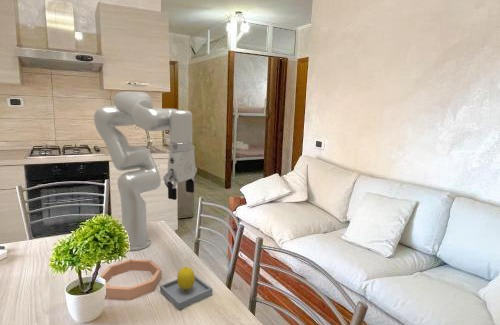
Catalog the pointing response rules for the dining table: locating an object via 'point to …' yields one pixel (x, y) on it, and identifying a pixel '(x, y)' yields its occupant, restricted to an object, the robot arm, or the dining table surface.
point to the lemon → (186, 278)
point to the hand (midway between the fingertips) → (181, 195)
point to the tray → (185, 293)
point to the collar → (136, 290)
